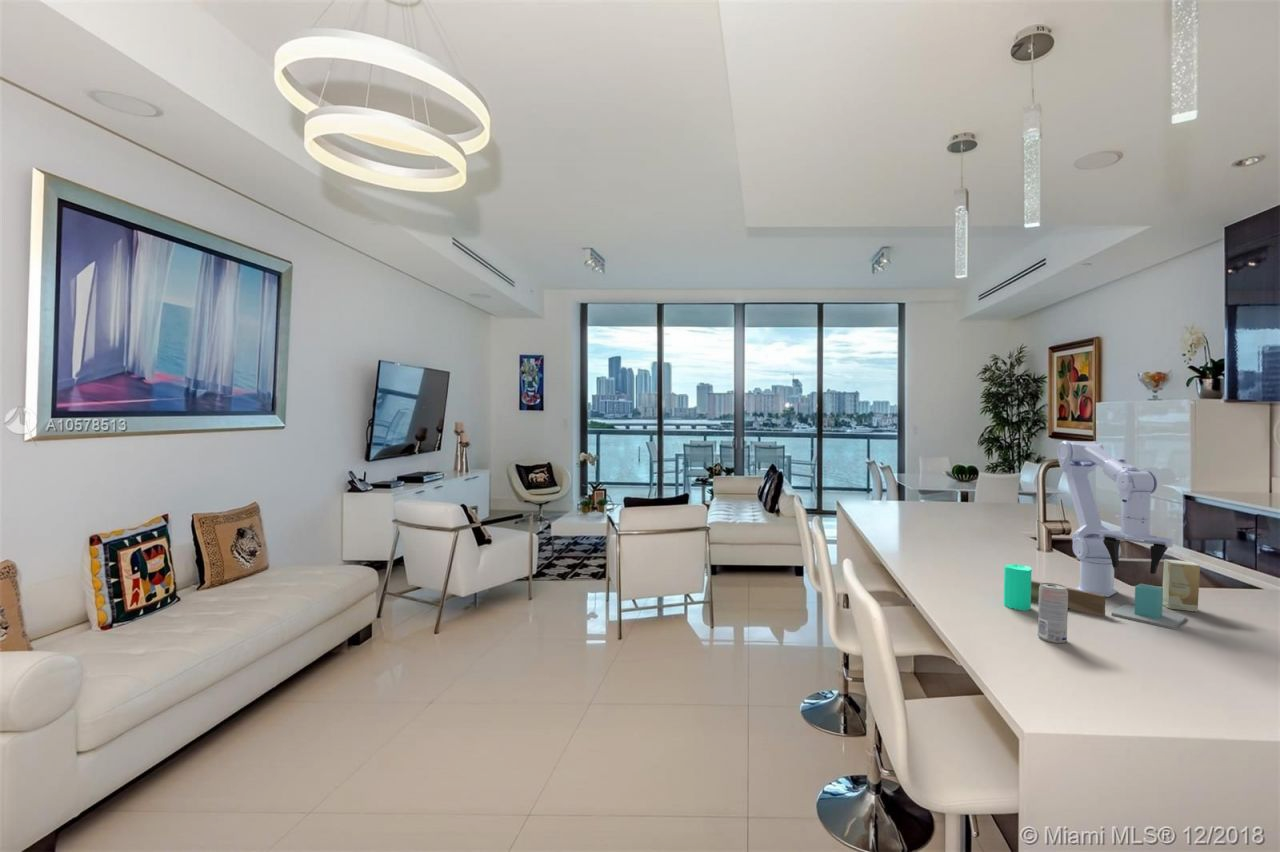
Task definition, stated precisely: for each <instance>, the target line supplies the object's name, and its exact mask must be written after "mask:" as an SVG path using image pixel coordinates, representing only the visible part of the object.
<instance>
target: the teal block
mask: <svg viewBox="0 0 1280 852" xmlns="http://www.w3.org/2000/svg"><path fill="white" fill-rule="evenodd" d="M1134 606H1135V614H1136V615H1141V616H1145V617H1150V618H1155V619H1159V618H1160V617H1161V616H1162V612H1163V606H1164V605H1163V587H1162V586H1156V585H1151V584H1146V583H1139V584H1137V585H1135V586H1134Z"/></svg>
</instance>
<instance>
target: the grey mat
mask: <svg viewBox="0 0 1280 852" xmlns="http://www.w3.org/2000/svg"><path fill="white" fill-rule="evenodd" d="M1111 616H1113V617H1118V618H1122V619H1127V620H1131V621H1136V622H1140V623H1143V624H1148V625H1149V624H1150V625H1153V626H1159V627H1163V628H1167V629H1172V630H1176V629H1177V628H1178V627H1179V626H1180V625H1181V624H1182V623H1184V622H1185V621H1186V620H1187V616H1185V615H1181V614H1175V613H1170V612H1167V611H1162V616H1161V617H1160V618H1159V619H1155V618H1150V617H1145V616H1141V615H1136V614H1135V605H1132V604H1128V603H1127V604H1126V603H1125V604H1124V605H1121V606H1120V607H1119V608H1117V609H1115V610H1114V611H1112V612H1111Z"/></svg>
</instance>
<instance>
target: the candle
mask: <svg viewBox="0 0 1280 852" xmlns="http://www.w3.org/2000/svg"><path fill="white" fill-rule="evenodd" d="M1003 567H1004V570H1003V572H1004V573H1003V574H1004V575H1003V577H1004V578H1003V606H1004V605H1005V606H1004V607H1006V606H1007V607H1006V608H1008V607H1009V608H1008V609H1012V608H1014V609H1013V610H1016V609H1020V610H1019V611H1030V610H1031V609H1032V608H1031V606H1032V600H1031V580H1032V567H1031V566H1030V565H1029V566H1028V565H1023V564H1019V563H1017V564H1014V563H1011V564H1008V565H1004V566H1003Z"/></svg>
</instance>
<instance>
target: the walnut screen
mask: <svg viewBox="0 0 1280 852" xmlns="http://www.w3.org/2000/svg"><path fill="white" fill-rule="evenodd" d="M1041 583H1043V582H1041V581H1036V580H1032V579H1031V601H1033V600H1034V601H1033V602H1037V601H1038V602H1037V603H1039V586H1040V584H1041ZM1067 590H1068V608H1070V609H1069V610H1073V609H1074V610H1073V611H1078V612H1082V613H1087V614H1091V615H1095V616H1100V617H1105V616H1106V600H1107V599H1106V598H1107V597H1106V595H1101V594H1096V593H1091V592H1086V591H1081V590H1076V589H1075V588H1071V587H1067Z"/></svg>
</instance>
